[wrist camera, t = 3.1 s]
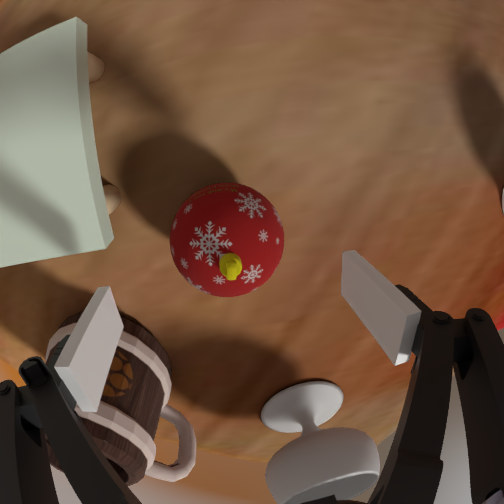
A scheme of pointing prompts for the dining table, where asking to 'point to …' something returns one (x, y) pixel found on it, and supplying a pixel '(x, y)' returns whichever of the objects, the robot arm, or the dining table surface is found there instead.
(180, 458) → the mug
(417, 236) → the dining table surface
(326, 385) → the chalice
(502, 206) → the cup
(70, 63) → the mint green side table
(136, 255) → the dining table surface
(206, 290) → the christmas ornament
